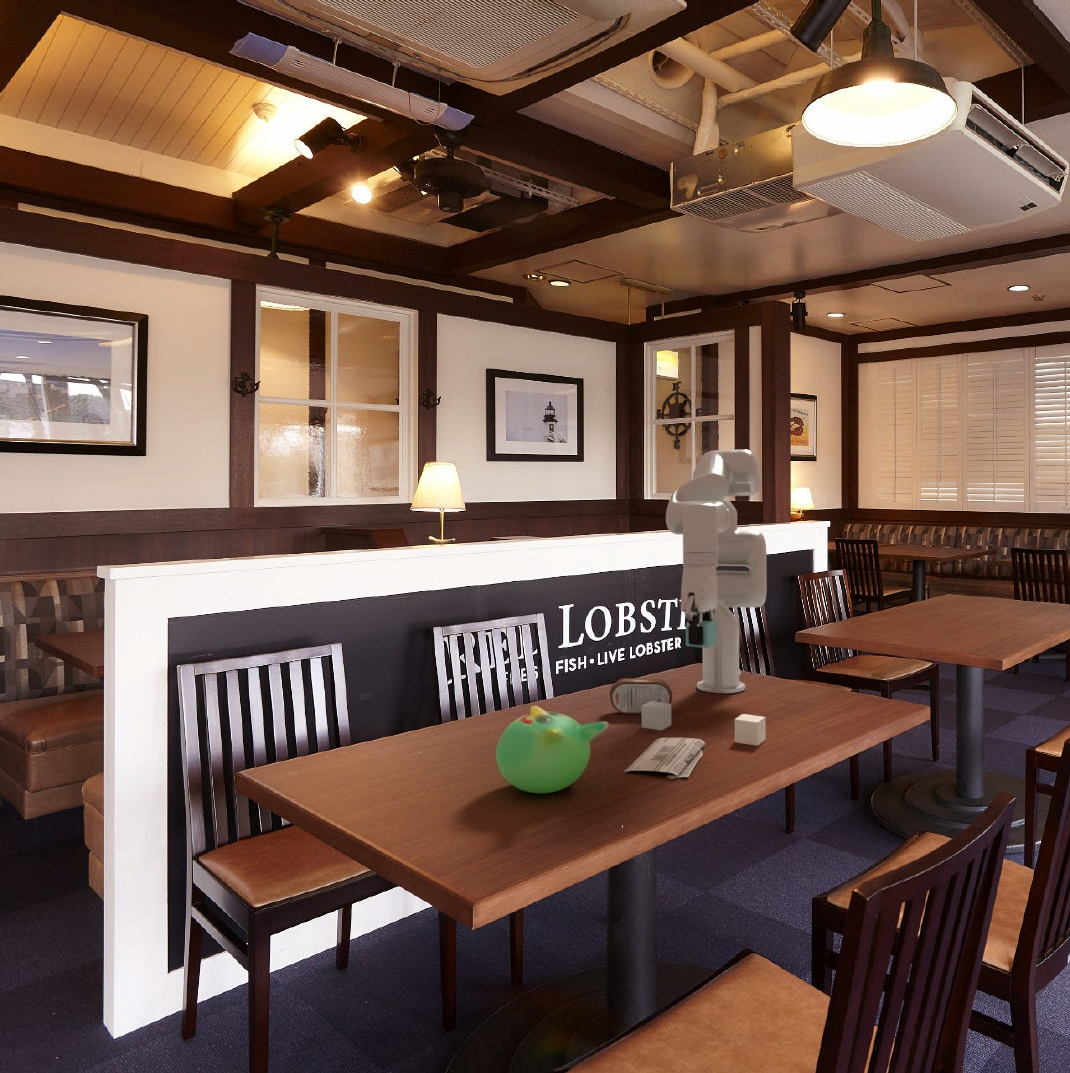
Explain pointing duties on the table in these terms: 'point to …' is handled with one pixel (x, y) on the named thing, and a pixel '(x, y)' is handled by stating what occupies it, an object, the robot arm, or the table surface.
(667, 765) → the newspaper
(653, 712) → the grey block
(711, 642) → the teal block
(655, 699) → the tin
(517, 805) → the table surface
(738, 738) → the cream block
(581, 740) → the toy bird
